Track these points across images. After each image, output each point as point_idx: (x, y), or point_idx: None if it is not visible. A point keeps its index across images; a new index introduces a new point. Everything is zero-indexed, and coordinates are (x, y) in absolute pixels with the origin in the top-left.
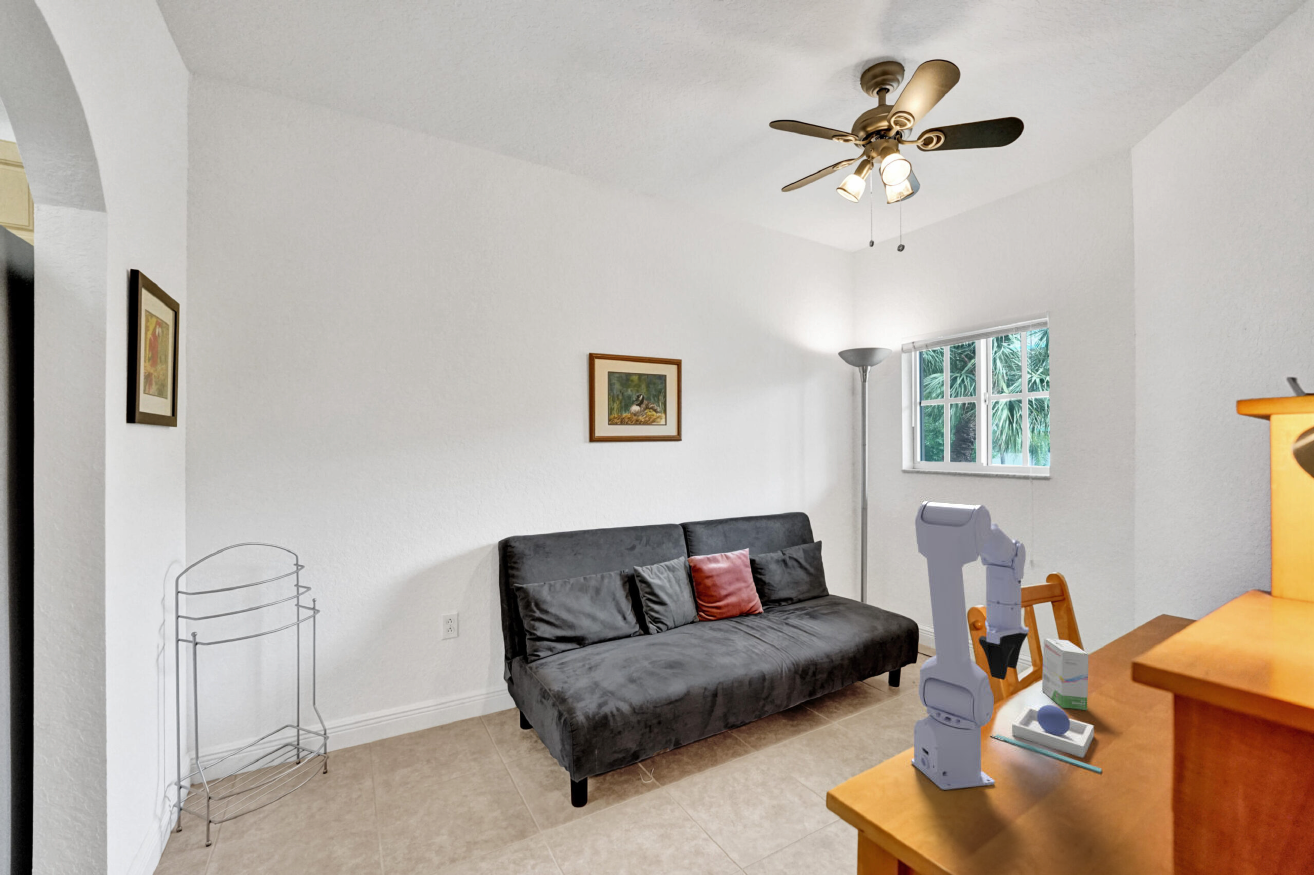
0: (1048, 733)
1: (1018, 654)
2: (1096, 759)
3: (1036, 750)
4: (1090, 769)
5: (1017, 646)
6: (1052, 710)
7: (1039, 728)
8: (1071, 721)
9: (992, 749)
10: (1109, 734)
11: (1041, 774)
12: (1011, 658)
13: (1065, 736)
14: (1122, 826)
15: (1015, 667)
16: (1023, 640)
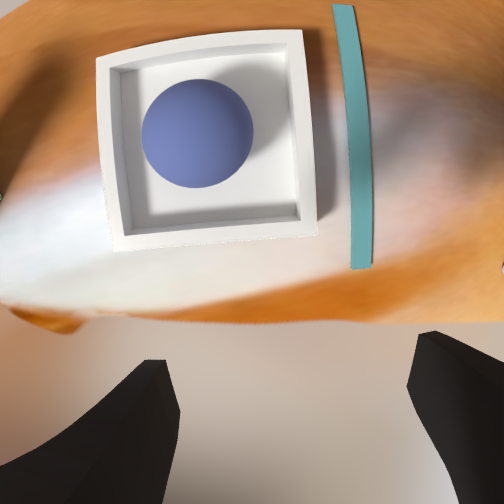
0: None
1: (115, 420)
2: (269, 19)
3: (369, 144)
4: (354, 24)
5: (98, 485)
6: (219, 122)
7: None
8: (111, 110)
9: (432, 235)
10: (66, 54)
11: (463, 118)
12: (154, 423)
13: None
14: (497, 6)
15: (160, 363)
16: (13, 500)
